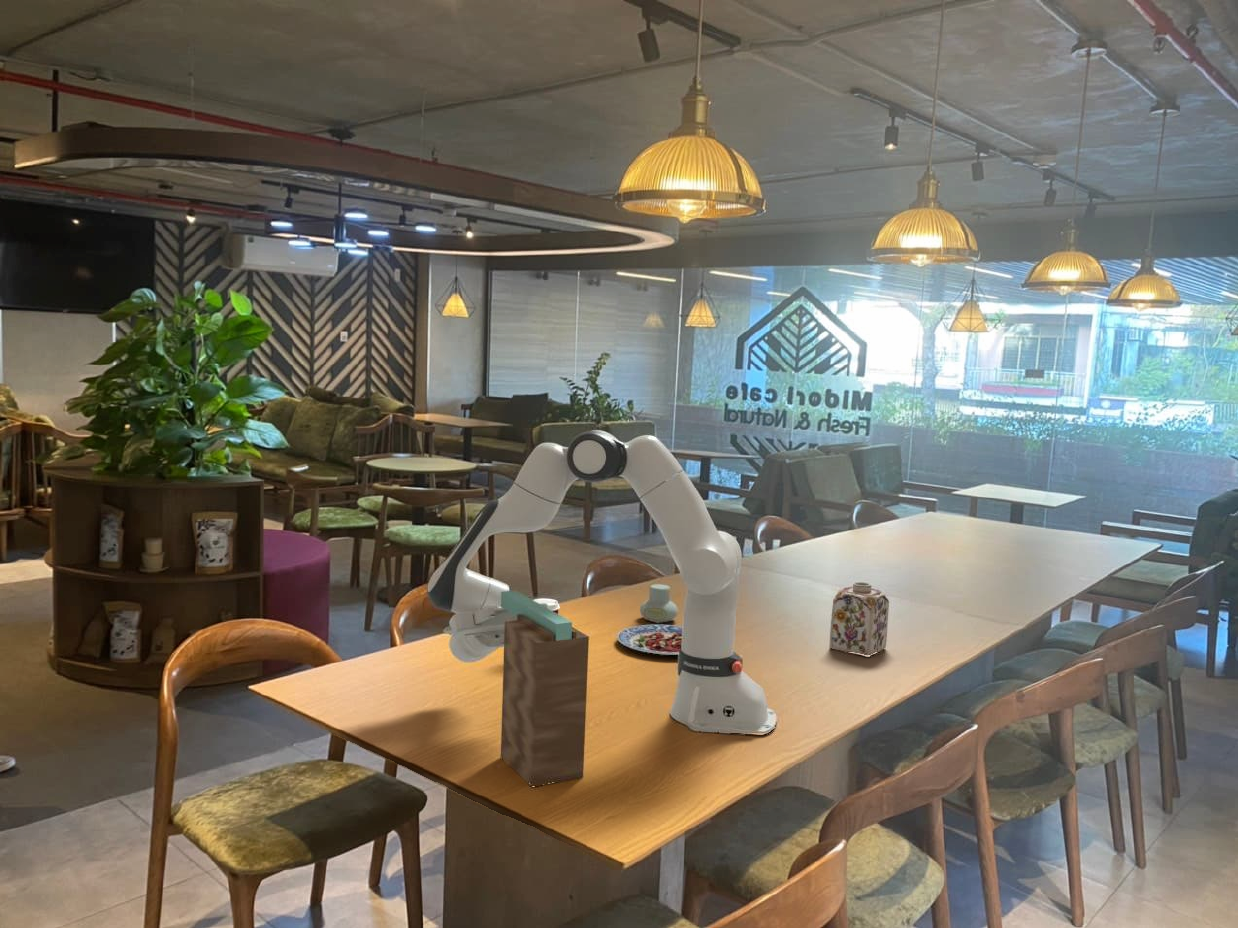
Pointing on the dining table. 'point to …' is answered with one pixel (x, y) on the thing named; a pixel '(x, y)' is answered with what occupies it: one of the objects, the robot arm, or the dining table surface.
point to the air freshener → (659, 605)
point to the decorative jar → (859, 620)
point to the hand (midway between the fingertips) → (514, 609)
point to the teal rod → (537, 614)
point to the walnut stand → (543, 702)
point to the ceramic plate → (653, 639)
